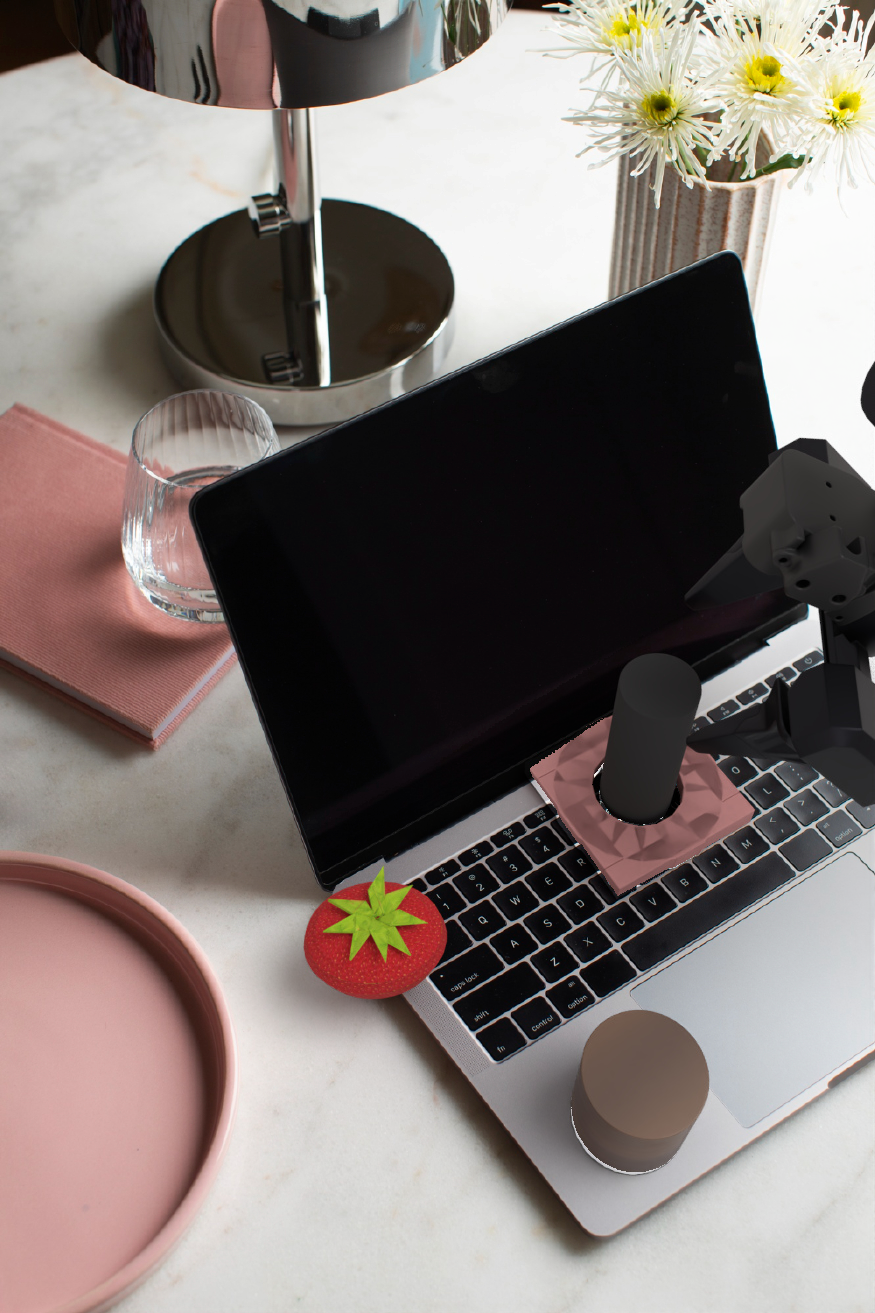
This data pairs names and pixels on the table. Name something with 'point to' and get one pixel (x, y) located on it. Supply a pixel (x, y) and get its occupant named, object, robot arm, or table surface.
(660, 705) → the cylindrical post
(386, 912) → the strawberry
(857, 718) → the robot arm
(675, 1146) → the cylinder
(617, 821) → the base pad
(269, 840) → the table surface
